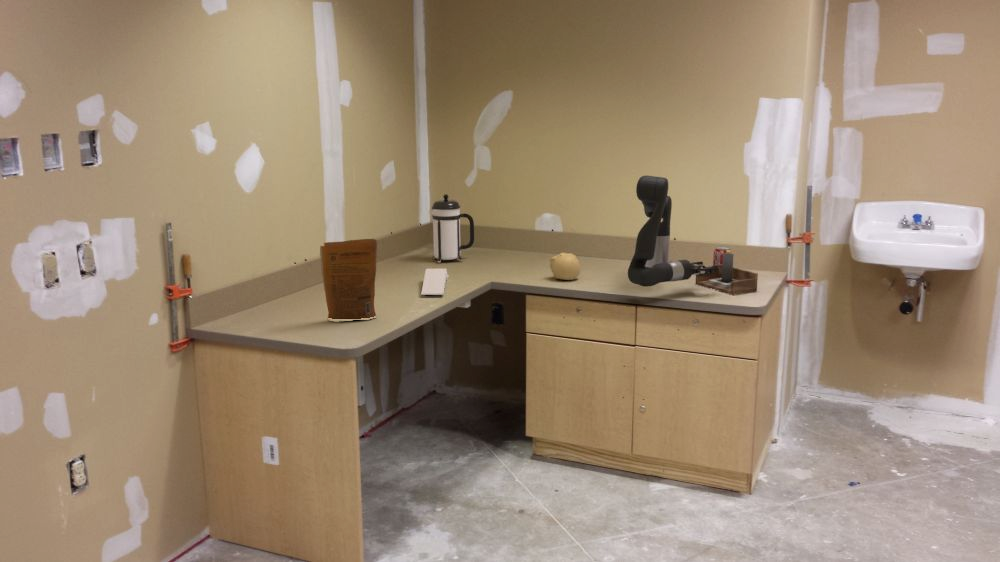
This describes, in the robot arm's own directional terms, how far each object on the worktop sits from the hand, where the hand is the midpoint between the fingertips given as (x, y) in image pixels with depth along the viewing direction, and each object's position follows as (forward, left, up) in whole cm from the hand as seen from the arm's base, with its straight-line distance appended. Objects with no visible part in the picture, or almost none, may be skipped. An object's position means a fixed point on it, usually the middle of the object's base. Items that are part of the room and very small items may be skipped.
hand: (709, 266), depth 338 cm
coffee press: (-104, -60, -10) cm, 120 cm away
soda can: (-16, +21, -10) cm, 28 cm away
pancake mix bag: (-28, -133, -10) cm, 136 cm away
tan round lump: (-45, -36, -10) cm, 59 cm away
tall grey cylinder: (0, +9, -8) cm, 12 cm away
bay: (0, +9, -9) cm, 13 cm away
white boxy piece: (-56, -89, -10) cm, 106 cm away
